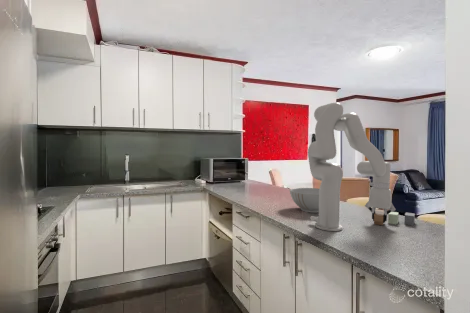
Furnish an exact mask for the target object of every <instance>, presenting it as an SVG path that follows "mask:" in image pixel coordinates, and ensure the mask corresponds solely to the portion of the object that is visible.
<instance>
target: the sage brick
mask: <svg viewBox="0 0 470 313" xmlns="http://www.w3.org/2000/svg"><path fill="white" fill-rule="evenodd" d="M399 214H400V213H399V212H397V211H393V212H390V213H389V214H387V223H388V224H391V225H398V223H399V216H400V215H399Z"/></svg>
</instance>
